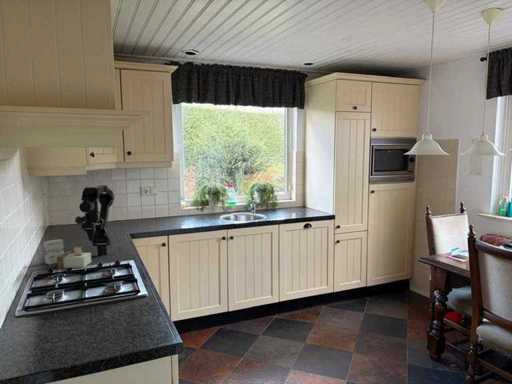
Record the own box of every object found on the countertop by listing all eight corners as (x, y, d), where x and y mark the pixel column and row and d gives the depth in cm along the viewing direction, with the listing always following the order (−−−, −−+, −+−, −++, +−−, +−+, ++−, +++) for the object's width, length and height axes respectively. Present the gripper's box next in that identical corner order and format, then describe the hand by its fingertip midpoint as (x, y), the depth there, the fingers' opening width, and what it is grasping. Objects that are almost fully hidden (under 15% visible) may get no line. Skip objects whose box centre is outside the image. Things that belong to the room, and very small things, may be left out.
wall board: (68, 264, 201) (67, 251, 201) (130, 261, 203) (130, 248, 203) (57, 271, 188) (56, 257, 188) (124, 268, 190) (123, 254, 190)
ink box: (61, 259, 212) (59, 238, 211) (65, 261, 209) (63, 239, 208) (44, 263, 206) (42, 241, 205) (48, 264, 202) (46, 242, 202)
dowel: (76, 262, 197) (75, 246, 196) (83, 261, 197) (82, 246, 197) (73, 263, 193) (72, 248, 193) (80, 263, 193) (79, 247, 193)
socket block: (71, 262, 200) (70, 253, 199) (91, 262, 200) (90, 252, 200) (63, 267, 190) (62, 258, 189) (84, 267, 190) (83, 257, 190)
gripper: (83, 209, 214) (84, 236, 215) (69, 213, 195) (71, 243, 196) (103, 208, 215) (105, 235, 216) (92, 212, 196) (93, 242, 197)
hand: (94, 239), depth 206 cm, fingers open, 9 cm apart
